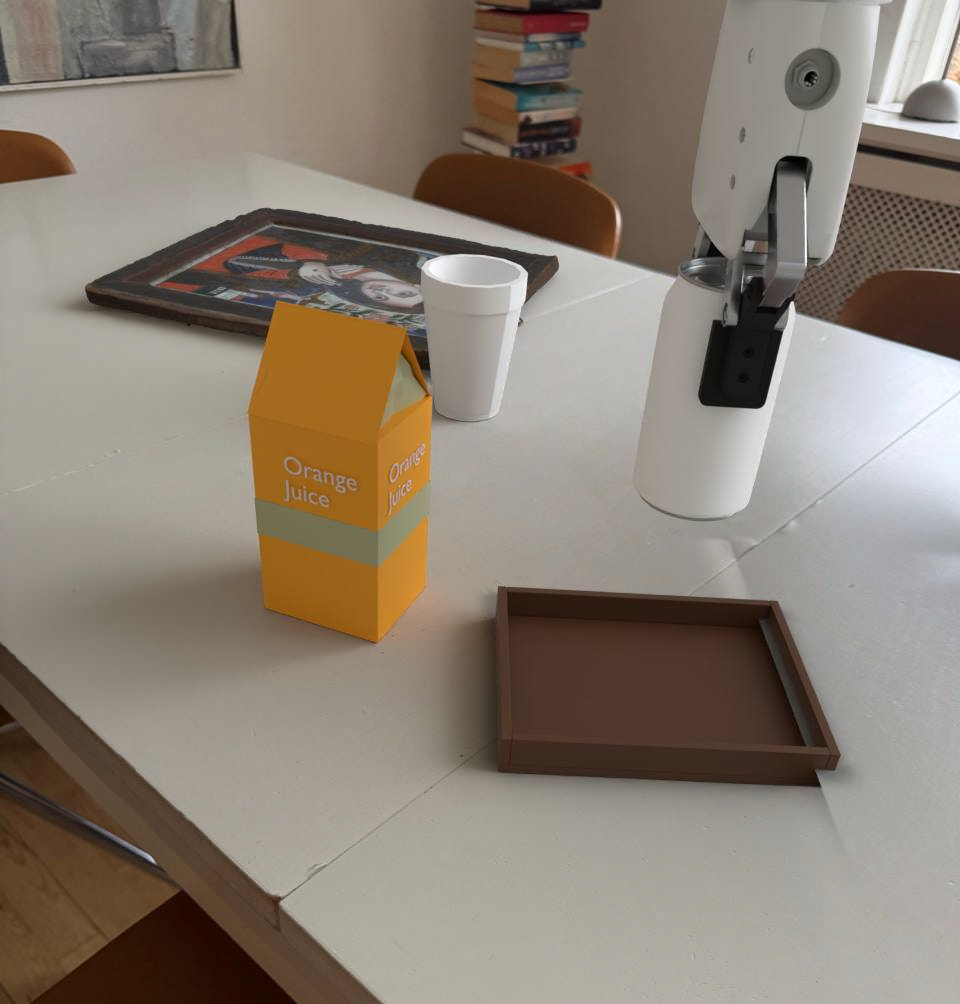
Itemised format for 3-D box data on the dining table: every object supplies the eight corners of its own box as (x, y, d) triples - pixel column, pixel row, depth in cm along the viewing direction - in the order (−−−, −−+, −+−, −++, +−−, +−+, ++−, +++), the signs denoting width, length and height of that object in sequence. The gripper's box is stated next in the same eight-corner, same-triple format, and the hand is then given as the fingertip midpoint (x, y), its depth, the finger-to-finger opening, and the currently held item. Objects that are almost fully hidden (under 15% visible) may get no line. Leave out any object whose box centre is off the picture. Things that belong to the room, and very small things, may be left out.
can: (620, 466, 57) (654, 251, 50) (728, 467, 58) (777, 255, 51) (646, 524, 52) (689, 294, 45) (765, 524, 53) (826, 298, 46)
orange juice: (319, 554, 74) (308, 282, 62) (427, 586, 72) (437, 308, 60) (262, 609, 68) (237, 319, 56) (377, 645, 66) (377, 351, 54)
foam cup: (457, 379, 102) (464, 248, 94) (533, 405, 98) (547, 270, 90) (398, 408, 95) (400, 269, 87) (477, 437, 91) (486, 295, 83)
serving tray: (768, 630, 70) (777, 600, 68) (828, 787, 58) (841, 754, 56) (495, 616, 69) (497, 585, 68) (497, 772, 57) (501, 738, 56)
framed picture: (466, 387, 100) (468, 357, 98) (83, 312, 110) (78, 284, 108) (568, 276, 131) (570, 252, 129) (261, 225, 141) (259, 202, 139)
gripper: (983, -26, 34) (835, 457, 44) (837, -53, 47) (752, 321, 58) (762, -43, 33) (668, 447, 44) (681, -64, 47) (624, 313, 58)
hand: (716, 372), depth 51 cm, fingers closed on can, 6 cm apart
